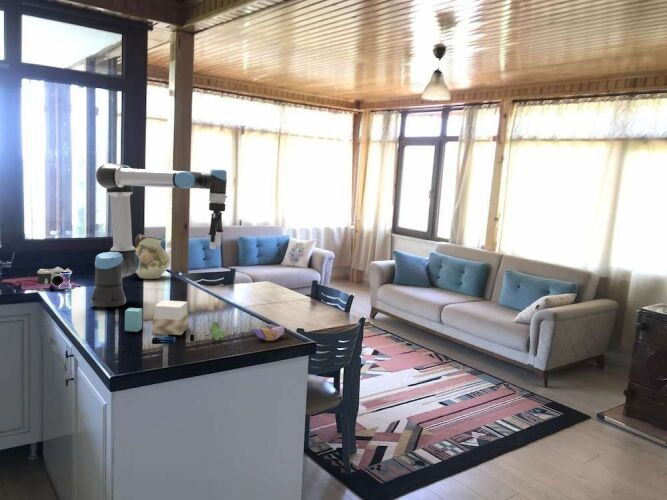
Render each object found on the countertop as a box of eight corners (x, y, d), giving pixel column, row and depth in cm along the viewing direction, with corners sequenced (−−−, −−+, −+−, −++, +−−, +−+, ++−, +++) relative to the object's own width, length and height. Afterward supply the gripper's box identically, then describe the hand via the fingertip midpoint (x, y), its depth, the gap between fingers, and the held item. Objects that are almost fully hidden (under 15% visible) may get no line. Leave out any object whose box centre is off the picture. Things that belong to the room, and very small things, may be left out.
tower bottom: (152, 333, 208) (152, 318, 208) (161, 326, 219) (161, 311, 218) (180, 335, 209) (181, 320, 208) (188, 327, 219) (188, 313, 219)
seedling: (213, 348, 209) (225, 342, 206) (197, 341, 204) (209, 335, 201) (213, 332, 213) (225, 325, 210) (198, 325, 208) (210, 318, 205)
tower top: (154, 318, 208) (154, 305, 207) (162, 312, 218) (162, 300, 217) (180, 320, 208) (180, 307, 208) (187, 313, 218) (187, 301, 217)
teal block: (124, 330, 209) (125, 310, 208) (129, 327, 214) (129, 307, 213) (137, 331, 209) (138, 311, 208) (142, 328, 214) (142, 308, 213)
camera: (36, 287, 273) (36, 268, 272) (37, 284, 281) (37, 265, 279) (71, 286, 281) (71, 267, 279) (71, 283, 288) (71, 265, 287)
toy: (247, 323, 209) (279, 321, 219) (246, 339, 209) (279, 336, 219) (259, 327, 202) (292, 324, 211) (258, 343, 202) (292, 340, 211)
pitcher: (162, 281, 307) (163, 238, 304) (121, 279, 307) (121, 235, 304) (174, 275, 330) (175, 234, 326) (135, 272, 330) (136, 231, 327)
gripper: (220, 204, 241) (218, 251, 243) (229, 202, 265) (227, 244, 268) (203, 203, 240) (201, 250, 243) (214, 200, 265) (212, 243, 268)
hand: (215, 247), depth 256 cm, fingers open, 13 cm apart
